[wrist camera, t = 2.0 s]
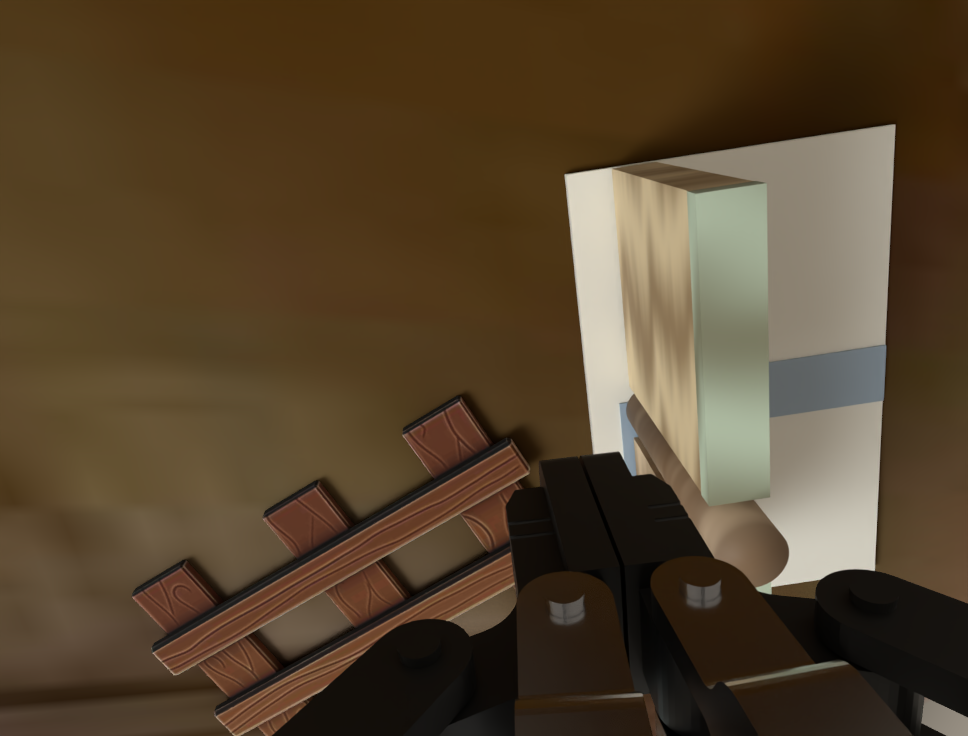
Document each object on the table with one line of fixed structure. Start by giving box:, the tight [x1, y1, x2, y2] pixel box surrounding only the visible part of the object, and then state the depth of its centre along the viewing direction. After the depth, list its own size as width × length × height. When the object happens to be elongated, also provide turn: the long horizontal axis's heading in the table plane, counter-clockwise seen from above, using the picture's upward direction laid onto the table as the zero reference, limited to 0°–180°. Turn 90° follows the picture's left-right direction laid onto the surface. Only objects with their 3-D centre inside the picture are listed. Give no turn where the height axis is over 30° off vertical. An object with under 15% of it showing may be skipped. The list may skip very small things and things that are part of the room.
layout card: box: [565, 124, 895, 587], centre depth 36 cm, size 24×15×1 cm, turn 8°
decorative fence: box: [132, 396, 530, 736], centre depth 39 cm, size 23×2×15 cm
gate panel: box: [612, 162, 770, 506], centre depth 28 cm, size 10×2×12 cm, turn 8°
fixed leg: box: [626, 394, 789, 594], centre depth 31 cm, size 10×2×13 cm, turn 8°
